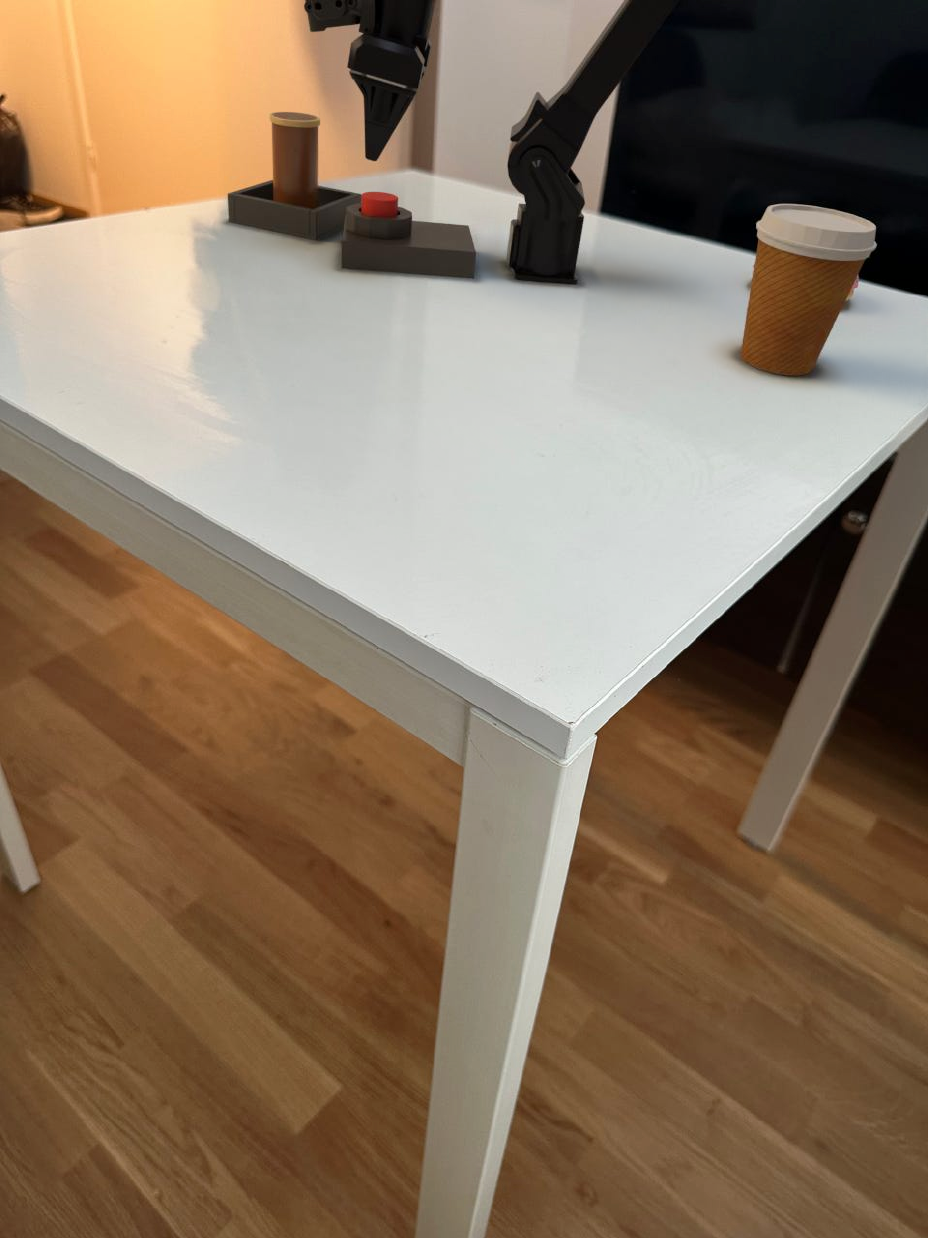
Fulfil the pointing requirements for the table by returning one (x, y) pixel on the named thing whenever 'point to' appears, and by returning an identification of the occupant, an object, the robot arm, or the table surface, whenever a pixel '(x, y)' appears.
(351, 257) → the red button box
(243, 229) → the table surface
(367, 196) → the brew button
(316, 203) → the brown cup
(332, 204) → the tray
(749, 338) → the disposable coffee cup
